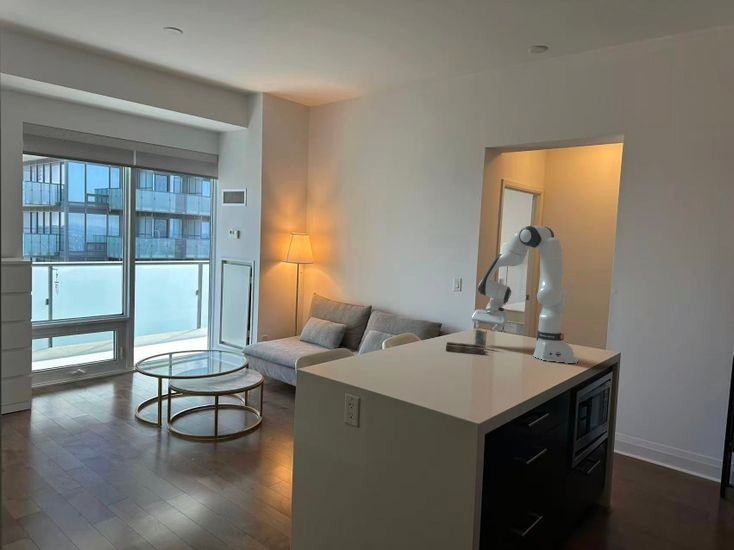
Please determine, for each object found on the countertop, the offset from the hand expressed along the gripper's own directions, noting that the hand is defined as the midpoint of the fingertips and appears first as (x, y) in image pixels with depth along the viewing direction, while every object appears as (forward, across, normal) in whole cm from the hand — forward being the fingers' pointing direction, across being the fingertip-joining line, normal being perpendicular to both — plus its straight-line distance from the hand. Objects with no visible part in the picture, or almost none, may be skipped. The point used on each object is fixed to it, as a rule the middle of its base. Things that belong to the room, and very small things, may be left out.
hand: (484, 329), depth 304 cm
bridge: (+21, -2, -7) cm, 22 cm away
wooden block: (+11, 0, +3) cm, 11 cm away
